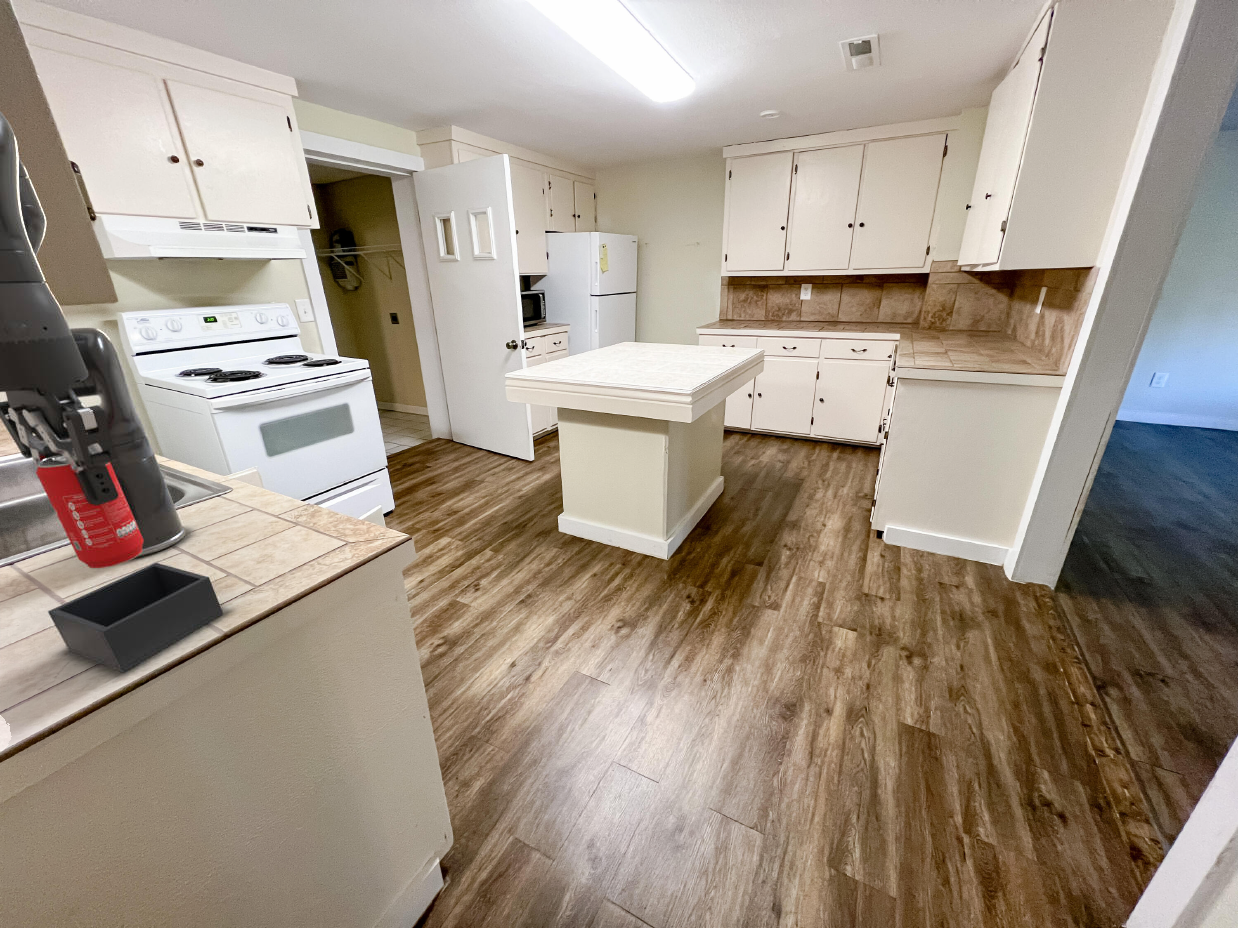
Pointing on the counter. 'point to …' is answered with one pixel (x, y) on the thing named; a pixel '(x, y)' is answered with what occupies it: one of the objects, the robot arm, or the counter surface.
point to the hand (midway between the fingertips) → (88, 497)
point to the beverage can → (90, 517)
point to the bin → (136, 615)
